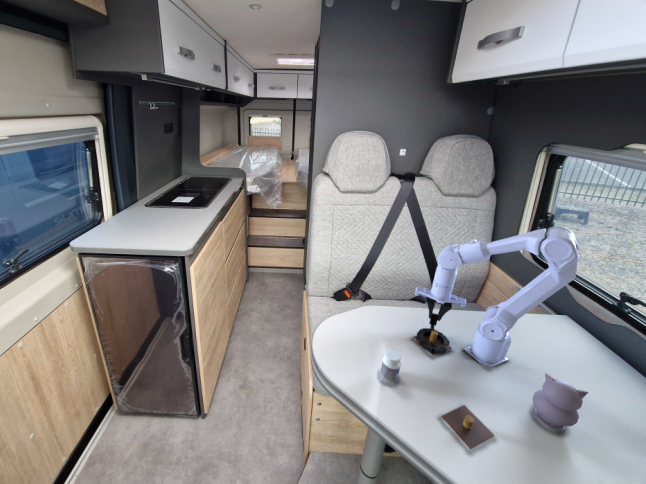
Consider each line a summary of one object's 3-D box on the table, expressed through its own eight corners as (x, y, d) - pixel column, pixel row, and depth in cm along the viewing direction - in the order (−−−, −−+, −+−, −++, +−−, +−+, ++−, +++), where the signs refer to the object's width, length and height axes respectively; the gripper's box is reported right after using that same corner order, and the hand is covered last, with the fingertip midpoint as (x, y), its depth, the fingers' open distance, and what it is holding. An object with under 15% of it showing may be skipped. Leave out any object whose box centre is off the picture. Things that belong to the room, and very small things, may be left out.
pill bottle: (398, 387, 82) (403, 363, 79) (380, 383, 83) (384, 360, 80) (396, 372, 86) (401, 349, 83) (378, 369, 87) (383, 346, 84)
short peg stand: (463, 408, 77) (466, 398, 76) (493, 438, 70) (497, 428, 69) (439, 419, 74) (442, 409, 73) (468, 452, 67) (473, 442, 66)
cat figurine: (525, 420, 75) (542, 385, 70) (528, 398, 80) (543, 364, 76) (571, 445, 70) (592, 408, 65) (570, 420, 75) (590, 384, 71)
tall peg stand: (430, 333, 101) (434, 321, 100) (451, 351, 95) (454, 338, 93) (412, 339, 98) (415, 327, 97) (431, 358, 92) (435, 345, 90)
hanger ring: (449, 358, 90) (454, 343, 88) (415, 347, 94) (419, 333, 92) (447, 331, 101) (451, 317, 99) (416, 323, 104) (419, 309, 102)
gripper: (418, 283, 95) (410, 319, 100) (471, 295, 90) (460, 332, 95) (418, 272, 101) (411, 306, 106) (468, 283, 96) (457, 318, 101)
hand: (434, 317), depth 101 cm, fingers closed on hanger ring, 2 cm apart
